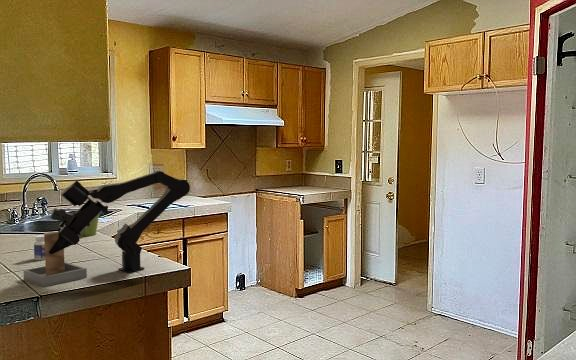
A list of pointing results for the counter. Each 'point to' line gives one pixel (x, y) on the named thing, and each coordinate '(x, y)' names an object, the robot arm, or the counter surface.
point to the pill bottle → (39, 248)
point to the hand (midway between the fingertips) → (49, 251)
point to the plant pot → (91, 228)
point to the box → (41, 279)
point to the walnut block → (53, 255)
